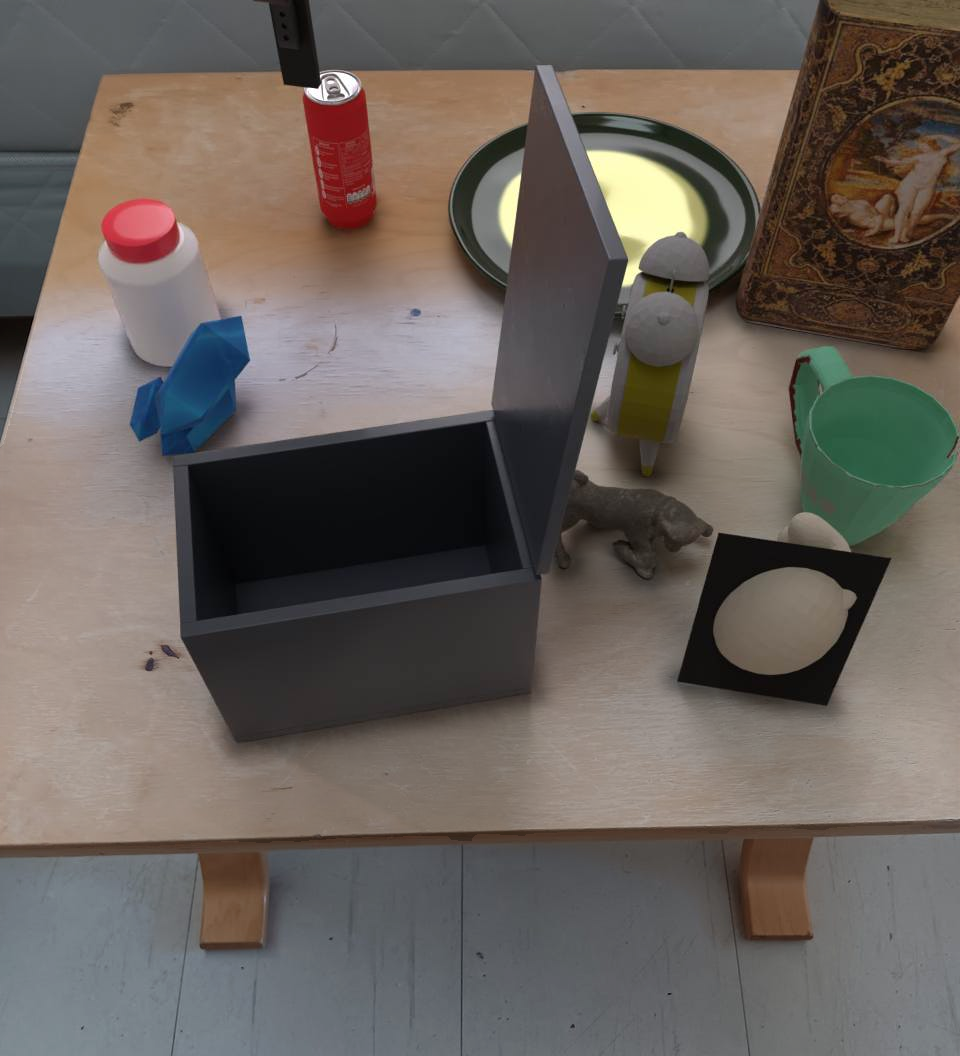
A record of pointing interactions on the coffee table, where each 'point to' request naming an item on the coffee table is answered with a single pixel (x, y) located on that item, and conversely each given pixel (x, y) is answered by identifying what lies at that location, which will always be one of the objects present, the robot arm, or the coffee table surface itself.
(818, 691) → the decorative object
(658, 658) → the coffee table surface
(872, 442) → the mug
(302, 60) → the robot arm
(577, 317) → the dark grey box lid
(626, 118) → the plate
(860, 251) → the book
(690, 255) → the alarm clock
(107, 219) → the pill bottle
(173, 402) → the crystal
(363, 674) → the dark grey storage box
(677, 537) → the dog figurine
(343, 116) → the beverage can
